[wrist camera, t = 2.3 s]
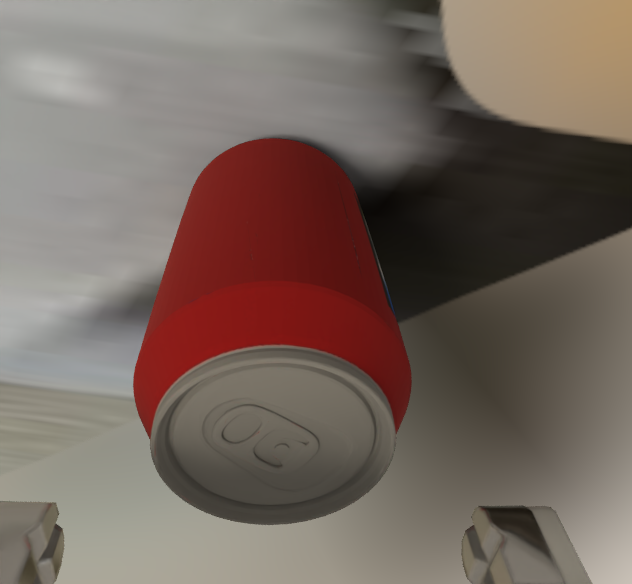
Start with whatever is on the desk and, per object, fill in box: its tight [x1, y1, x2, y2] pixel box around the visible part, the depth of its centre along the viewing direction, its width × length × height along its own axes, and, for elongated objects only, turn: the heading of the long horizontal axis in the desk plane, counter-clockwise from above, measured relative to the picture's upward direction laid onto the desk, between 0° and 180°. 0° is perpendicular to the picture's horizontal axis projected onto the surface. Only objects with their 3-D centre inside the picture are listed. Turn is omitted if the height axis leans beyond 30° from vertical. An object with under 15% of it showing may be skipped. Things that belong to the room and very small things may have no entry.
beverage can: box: [133, 138, 411, 525], centre depth 17 cm, size 7×7×12 cm
